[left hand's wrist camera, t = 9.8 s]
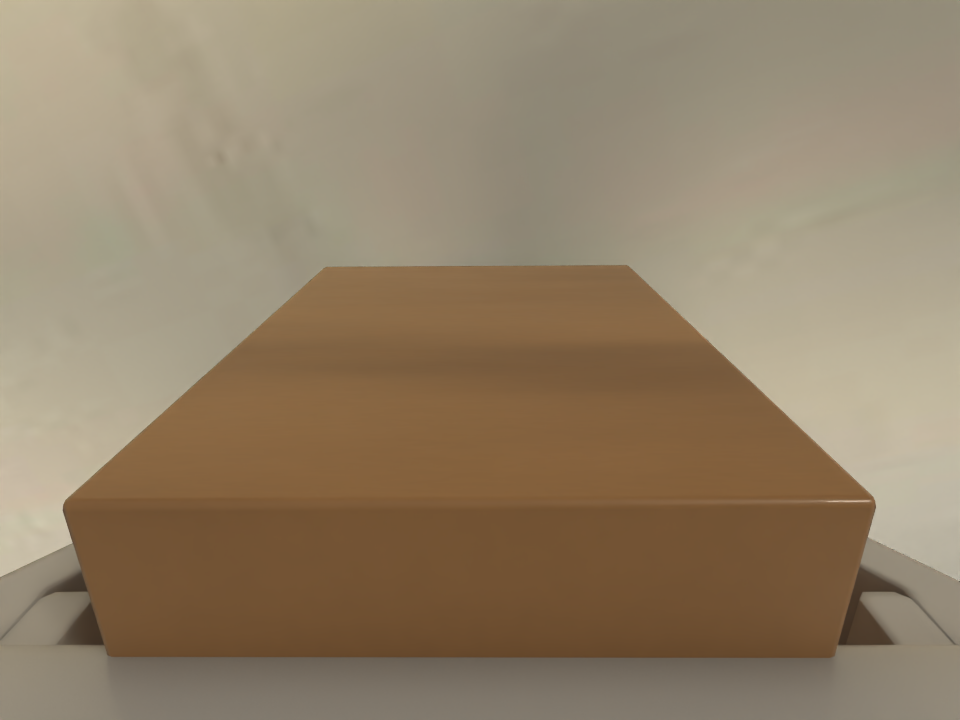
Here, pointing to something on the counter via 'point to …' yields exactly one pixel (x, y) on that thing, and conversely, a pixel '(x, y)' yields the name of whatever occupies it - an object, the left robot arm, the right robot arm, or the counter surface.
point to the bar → (472, 486)
